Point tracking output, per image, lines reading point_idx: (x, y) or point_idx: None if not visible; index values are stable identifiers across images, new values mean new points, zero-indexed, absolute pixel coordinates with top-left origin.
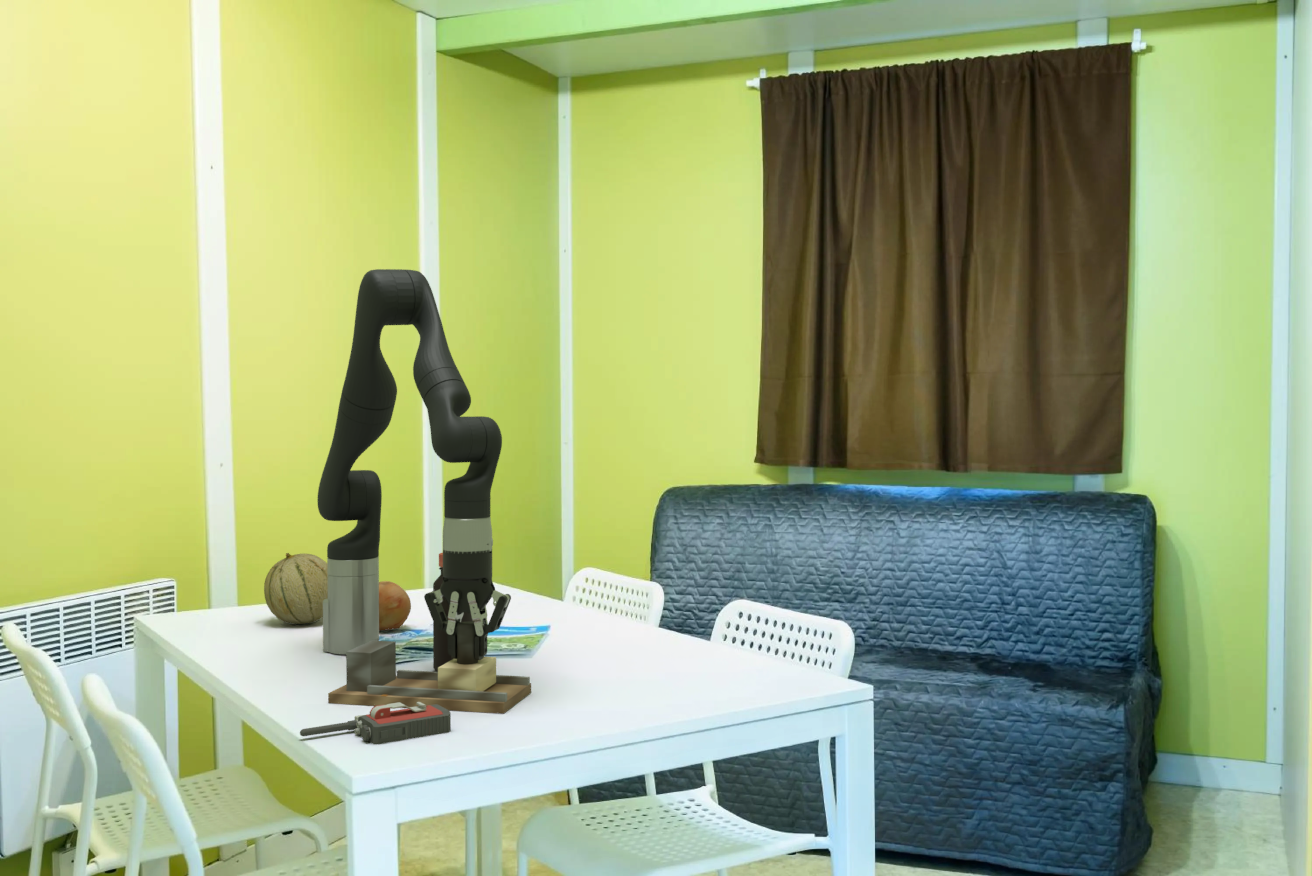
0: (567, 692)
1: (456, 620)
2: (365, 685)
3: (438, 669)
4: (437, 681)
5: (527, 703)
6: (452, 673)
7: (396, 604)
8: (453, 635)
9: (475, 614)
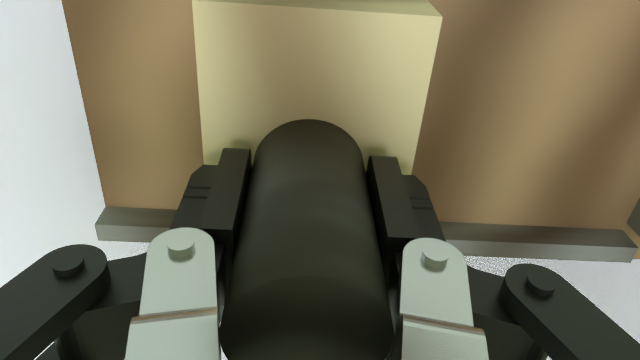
0: (10, 236)
1: (396, 333)
2: None
3: (436, 13)
4: (463, 211)
5: (59, 79)
6: (345, 4)
7: None
8: (401, 237)
9: (165, 357)
